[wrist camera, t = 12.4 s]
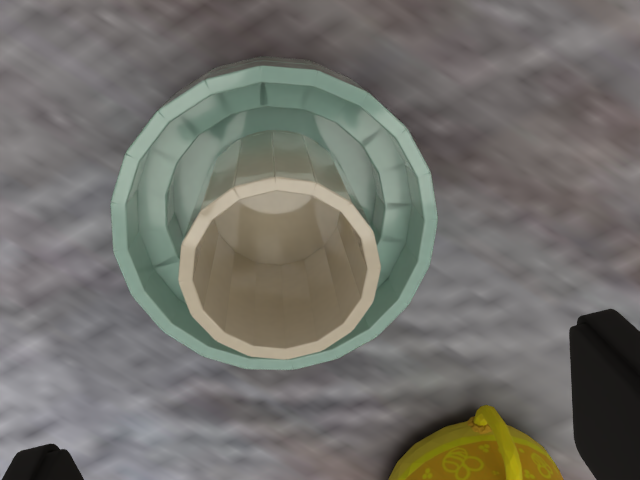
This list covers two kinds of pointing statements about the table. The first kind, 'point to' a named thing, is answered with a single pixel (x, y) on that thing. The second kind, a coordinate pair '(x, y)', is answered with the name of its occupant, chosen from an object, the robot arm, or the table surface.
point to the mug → (477, 453)
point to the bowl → (247, 118)
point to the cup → (278, 249)
